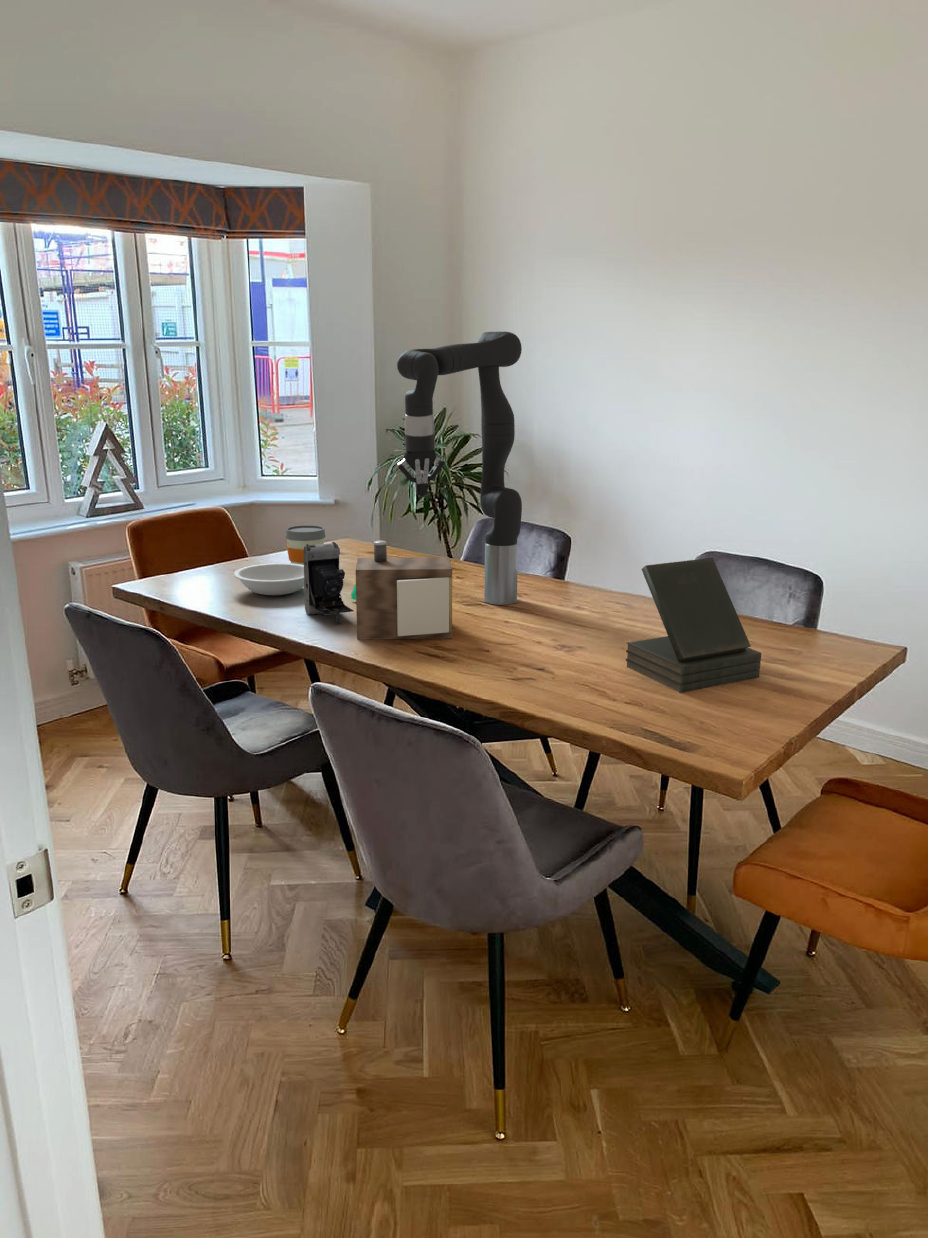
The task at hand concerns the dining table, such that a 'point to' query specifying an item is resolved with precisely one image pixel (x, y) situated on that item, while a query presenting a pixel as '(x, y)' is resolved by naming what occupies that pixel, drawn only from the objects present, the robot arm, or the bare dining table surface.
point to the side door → (424, 606)
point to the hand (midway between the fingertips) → (421, 496)
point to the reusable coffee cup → (302, 540)
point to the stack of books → (693, 630)
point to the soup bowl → (272, 578)
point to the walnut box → (391, 593)
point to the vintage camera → (323, 580)
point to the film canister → (380, 551)
